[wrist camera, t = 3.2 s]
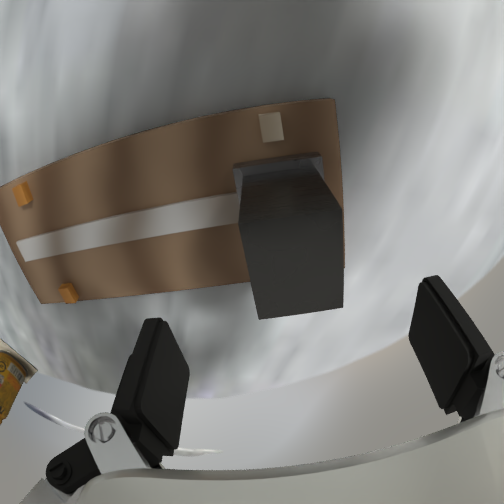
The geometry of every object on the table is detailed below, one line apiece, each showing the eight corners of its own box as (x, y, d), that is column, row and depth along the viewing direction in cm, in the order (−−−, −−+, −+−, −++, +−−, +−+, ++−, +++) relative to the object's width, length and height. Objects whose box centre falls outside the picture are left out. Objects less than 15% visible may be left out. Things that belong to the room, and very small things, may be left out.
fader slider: (318, 151, 17) (354, 195, 11) (325, 239, 20) (353, 313, 14) (233, 163, 18) (222, 214, 11) (250, 250, 21) (250, 328, 15)
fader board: (328, 98, 17) (338, 100, 15) (340, 257, 23) (347, 274, 21) (-3, 187, 20) (-18, 198, 18) (47, 294, 26) (37, 309, 24)
